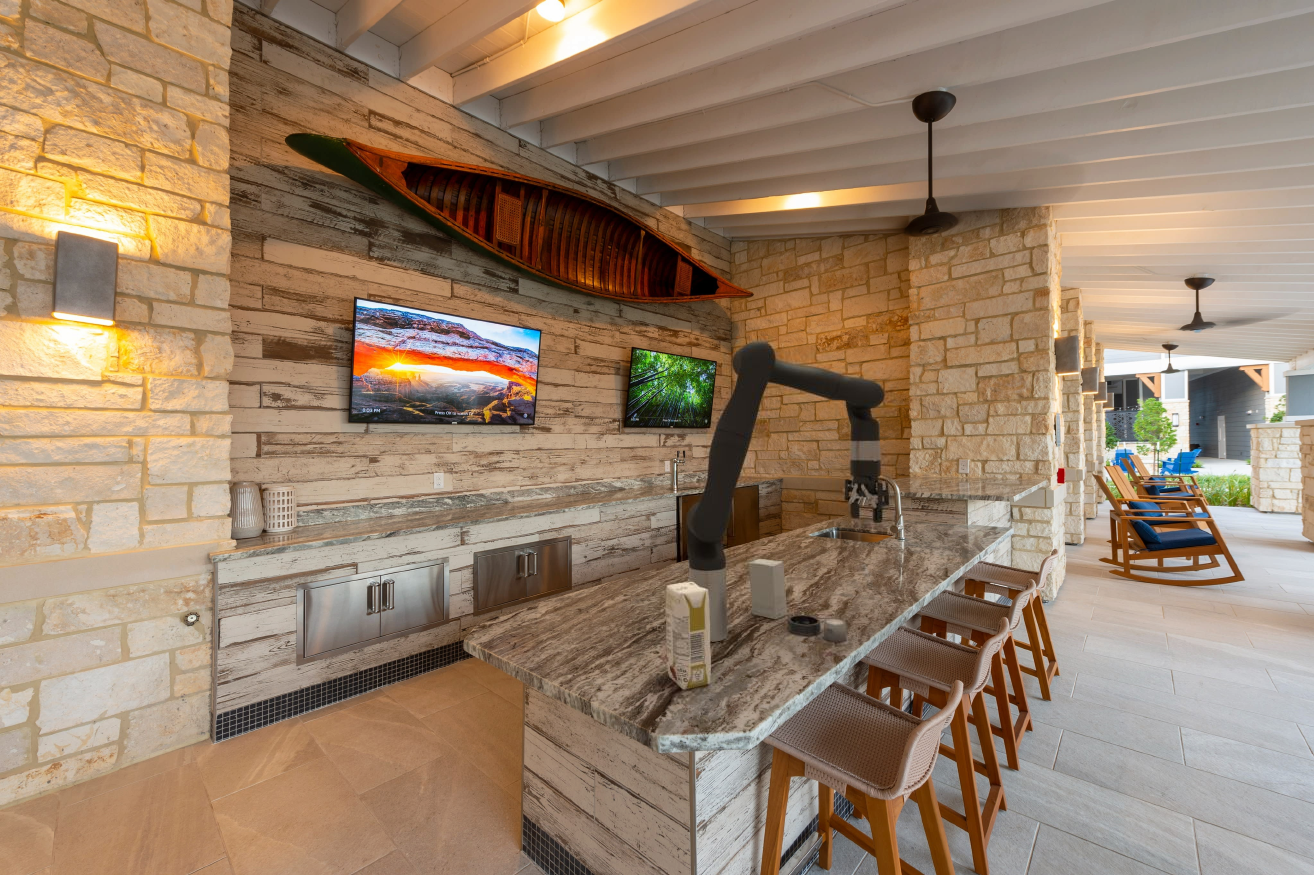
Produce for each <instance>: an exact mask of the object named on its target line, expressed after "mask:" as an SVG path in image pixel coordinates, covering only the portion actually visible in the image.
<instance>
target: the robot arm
mask: <svg viewBox="0 0 1314 875" xmlns="http://www.w3.org/2000/svg"><path fill="white" fill-rule="evenodd" d="M776 357H777V356H776V352H775V350H774V348H773V347H772V346H771V344H770V343H768V342H766V341H764V340H755V341H751V342H748V343H747V344H745V345H744V346H742V347H741V348H739V349H738V350H737V351H736V352H735V354H734V355H733V358H732V360H731V363H732V369H733V371H734V373H735V374H736V375H737V377H736V383H735V386H734V389H733V392H732V395H731V397H730V399H729V400H728V402H727V404H726V405H725V407H724V409H723V411H722V413H721V415H720V417H719V419H718V421H717V424H716V426H715V429H714V433H713V437H712V439H711V443H710V448H709V452H708V453H709V454H708V464H707V465H708V466H707V477H706V483H705V486H704V490H703V492H702V495H701V497H700V500H699V501H698V502H696V503H694V504H693V505H692V506H690V508H689V509H688V512H687V513H686V519H685V520H686V521H685V524H686V526H685V529H686V530H685V532H686V552H687V556H688V566H689V569H688V572H689V574H688V576H689V582H694V583H695V584H697V585H698V586H699V587H702V588H705V589H708V594H709V605H710V643H711V642H712V643H714V642H719V641H724V640H725V639H727V638H728V602H727V601H728V599H727V598H728V595H727V594H728V591H727V558H726V554H725V551H724V545H723V544H724V543H723V536H724V535H725V533H726V532H727V529H728V526H729V521H730V516H731V509H732V504H733V500H734V494H735V490H736V487H737V484H738V482H739V480H740V479H739V478H740V475H741V472H742V470H743V466H744V464H745V460H746V457H747V454H748V452H749V447H750V444H751V440H752V437H753V434H754V430H755V426H756V422H757V418H758V414H759V410H760V405H761V403H762V399H763V396H764V393H765V391H766V389H767V386H768V383H771V384H775V385H778V386H779V385H780V386H784V387H787V388H792V389H795V390H798V391H801V392H804V393H808V394H811V395H814V396H816V397H821V398H824V399H827V400H832V401H844V402H845V407H846V412H847V418H848V420H849V424H850V446H849V467H850V468H849V475H850V476H851V477H853V478H846V479H845V480H844V501H846V502H848V503H849V504H850V518H852V519H859V518H860V517H861V516H860V501H861V500H862V499H863V498H867V500H868V501H869V502H870V504H871V505H872V522H873V523H875V524H880V523H881V524H882V522H883V518H884V516H883V508H885V507H889V506H890V492H889V483H888V482H887V481H885V482H884V481H879V478H880V477H881V476H882V452H881V451H882V450H881V443H880V442H881V441H880V423H879V421H878V420H877V419H875V418H873V415H872V410H871V409H875V408H877V407H879V406H880V405H881V404H882V403H883V402H884V400H885V390H884V388H883V387H882V385H880V384H879V383H877V382H875V381H873V380H871V379H865V378H860V377H856V376H850V375H849V376H847V375H844V374H841V373H839V372H836V371H835V372H834V371H833V370H832V371H831V370H829V369H825V368H821V367H817V366H813V365H812V366H811V365H804V364H797V363H792V362H788V361H783V360H781V359H777V358H776Z"/></svg>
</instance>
